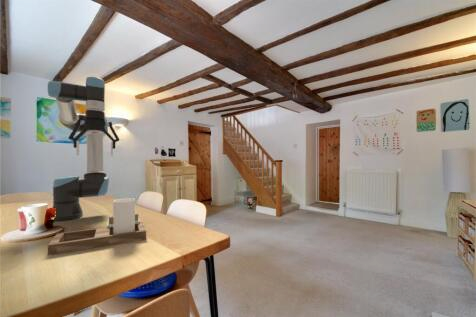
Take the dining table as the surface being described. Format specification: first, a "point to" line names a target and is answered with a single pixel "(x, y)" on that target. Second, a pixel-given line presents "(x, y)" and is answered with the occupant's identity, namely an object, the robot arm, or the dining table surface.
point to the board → (93, 239)
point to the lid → (110, 221)
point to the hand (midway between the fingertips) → (95, 155)
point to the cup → (123, 215)
